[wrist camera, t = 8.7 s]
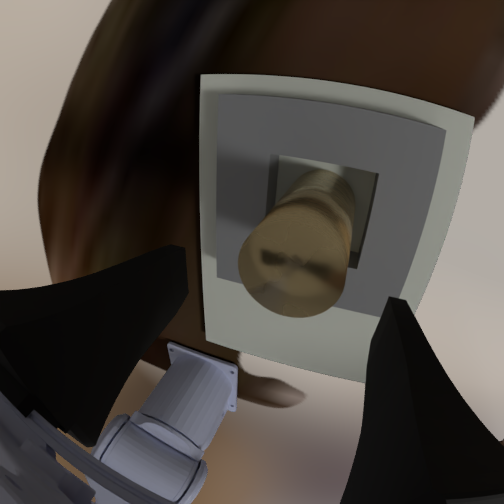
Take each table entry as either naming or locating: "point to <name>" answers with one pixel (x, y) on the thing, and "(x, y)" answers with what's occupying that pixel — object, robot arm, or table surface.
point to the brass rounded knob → (301, 247)
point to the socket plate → (366, 204)
